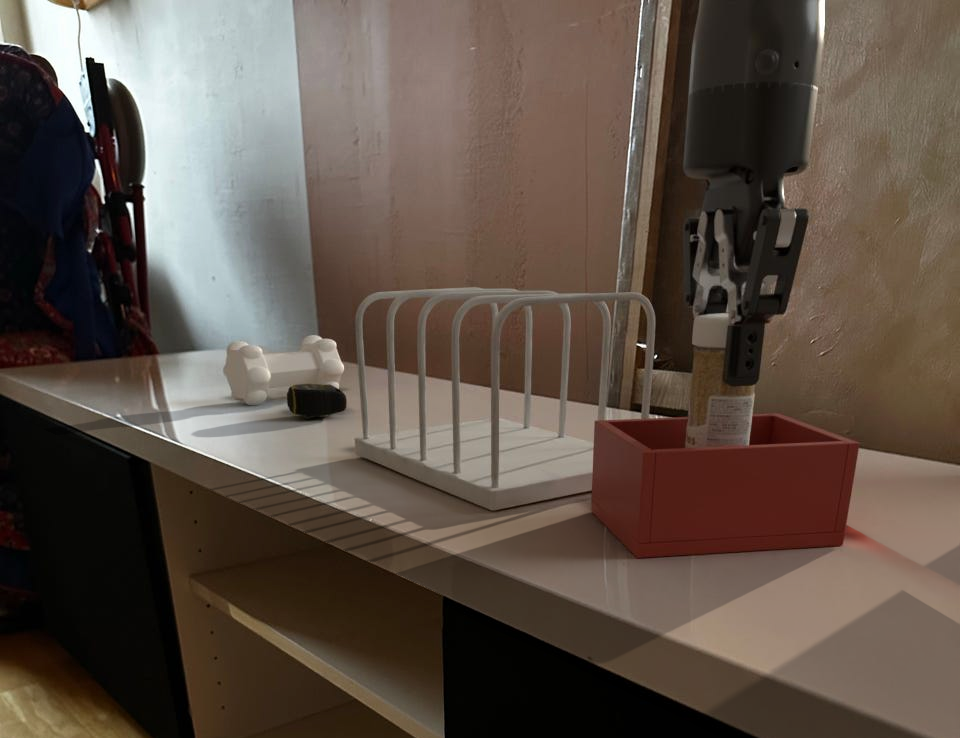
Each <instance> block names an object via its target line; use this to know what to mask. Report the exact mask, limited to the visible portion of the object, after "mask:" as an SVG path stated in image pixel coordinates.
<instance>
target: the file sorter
mask: <svg viewBox="0 0 960 738" xmlns="http://www.w3.org/2000/svg"><path fill="white" fill-rule="evenodd" d="M415 298H429V299H428V300H427V301H426V302H425V303H424V305H423V306H422V308H421V310H420V312H419V315H418V320H417V380H418V381H417V382H418V383H417V385H418V386H417V387H418V421H419V422H418V423H419V424H418V425H419V426H418V427H419V428H412V429H406V430H399V431H397V410H396V408H397V407H396V406H397V405H396V374H395V373H396V372H395V371H396V368H395V366H396V364H395V316H396V313H397V311H398V309H399V307H400V306H401V305H402V304H403V303H404V302H406V301H407V300H410V299H415ZM386 299H393V300H392V302H391V304H390V306H389V308H388V311H387V314H386V359H387V361H386V362H387V388H388V389H387V393H388V395H387V396H388V420H389V421H388V423H389V432H385V433H384V432H383V433H377V434H370V435H369V433H370V432H369V431H370V424H369V422H370V421H369V411H368V397H367V382H366V381H367V379H366V367H365V366H366V365H365V349H364V338H363V337H364V336H363V335H364V334H363V333H364V332H363V317H364V314H365V311H366V309H367V308H368V307H369V306H370V305H371V304H372V303H374V302H375V301H378V300H386ZM461 300H465V301H464V302H463V304H462V305H460V307H459V308H458V309H457V311H456V313H455V314H454V316H453V320H452V324H451V331H450V332H451V335H450V336H451V341H450V342H451V345H450V347H451V349H450V350H451V351H450V352H451V405H452V409H451V411H452V423H449V424H441V425H433V426H427V395H426V394H427V393H426V392H427V391H426V390H427V387H426V378H427V377H426V325H427V323H426V322H427V318H428V315H429V314H430V312H431V310H432V309H433V308H434V307H435V306H436V305H437V304H439V303H441V302H444V301H461ZM617 301H618V302H619V301H620V302H621V301H635V302H637V303H639V305H641V306H642V308H643V310H644V313H645V316H646V323H647V324H646V343H645V359H644V369H643V371H644V372H643V386H642V399H641V402H642V403H641V410H640V411H641V413H640V419H648V418H649V417H650V409H651V408H650V406H651V395H652V394H651V393H652V382H653V381H652V380H653V368H654V356H655V355H654V353H655V338H656V314H655V310H654V308H653V305H652V303H651V302H650V299H649V298H648V297H646V295H644V294H642V293H640V292H635V291H632V292H631V291H630V292H629V291H627V292H603V293H588V292H587V293H583V292H582V293H580V292H579V293H576V292H575V293H557V292H555V291H552V290H518V289H516V288H481V287H453V288H431V289H412V290H395V291H394V290H393V291H379V292H374V293H371V294H369V295H367V296H366V297H365V298H364V299H363V300H362V301H361V302H360V304H359V305H358V308H357V310H356V313H355V321H354V322H355V323H354V324H355V325H354V326H355V342H356V358H357V371H358V373H357V374H358V385H359V386H358V387H359V399H360V409H361V410H360V412H361V427H362V436H357V437H355V438H354V451H355V455H356V456H359V457H362V458H364V459H366V460H369V461H370V462H374V463H377V464H379V465H381V466H384V467H385V468H387V469H390V470H392V471H395V472H397V473H400V474H402V475H405V476H407V477H409V478H412V479H413V480H416V481H418V482H422V483H424V484H426V485H428V486H431V487H434V488H436V489H439V490H440V491H443V492H445V493H448V494H450V495H453V496H456V497H457V498H460V499H462V500H465V501H467V502H470V503H473V504H475V505H477V506H479V507H482V508H485V509H487V510H490V511H498V510H505V509H508V508H513V507H519V506H524V505H528V504H532V503H537V502H543V501H546V500H551V499H556V498H562V497H566V496H571V495H575V494H581V493H586V492H592V473H593V449H594V441H593V442H592V441H588V440H586V439H582V438H577V437H574V436H569V435H566V422H567V421H566V420H567V403H568V385H569V384H568V383H569V369H570V368H569V367H570V352H571V351H570V350H571V330H572V329H571V328H572V324H571V323H572V321H571V320H572V319H571V312H570V308H569V304H579V303H580V304H581V303H593V304H594V305H595V306H597V308H598V309H599V311H600V313H601V316H602V343H601V363H600V378H599V393H598V407H597V421H598V420H606V406H607V391H608V378H609V374H608V373H609V362H610V346H611V332H612V329H611V328H612V323H611V322H612V321H611V320H612V319H611V313H610V309H609V308H608V305H607V304H606V302H617ZM498 304H505V305H504V306H502V308H500V310H499V308H498ZM479 305H490V307H491V313H492V316H491V317H492V329H491V341H490V418H485V419H478V420H470V421H469V420H468V421H463V422H461V386H460V385H461V381H460V380H461V378H460V375H461V374H460V331H461V325H462V321H463V318H464V317H465V315H466V314H467V313H468V311H470V310H471V309H472V308H474V307H476V306H479ZM547 305H548V306H549V305H559V307H560V310H561V311H562V315H563V332H562V333H563V334H562V336H563V337H562V350H561V351H562V353H561V354H562V355H561V373H560V375H561V376H560V377H561V378H560V392H559V393H560V395H559V410H558V411H559V412H558V413H559V415H558V431H557V432H555V431H551V430H548V429H544V428H541V427H536V426H531V409H532V408H531V406H532V405H531V404H532V403H531V402H532V361H533V360H532V358H533V357H532V355H533V311H532V307H534V306H547ZM522 307H523V309H524V313H525V347H524V349H525V351H524V352H525V353H524V355H525V358H524V398H523V401H524V403H523V404H524V406H523V407H524V408H523V423H521V422H518V421H517V422H516V421H513V420H508V419H503V418H501V417H500V347H501V346H500V345H501V344H500V343H501V332H502V327H503V325H504V323H505V321H506V319H507V318H508V316H509V315H510V314H511V313H512V312H513V311H515V310H517V309H520V308H522Z"/></svg>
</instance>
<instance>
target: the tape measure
mask: <svg viewBox="0 0 960 738" xmlns="http://www.w3.org/2000/svg"><path fill="white" fill-rule="evenodd" d="M347 402H348V401H347V396H346V394H345V393H344V391H342V390H341V389H340V388H339V389H338V388H336V387H334V386H332V385H330V384H327V385H322V384H300V385H292V386H289V388H288V390H287V392H286V403H287V407H288V409H289V411H290V413H292V414H294V415H297V416H302V417H303V418H305V419H307V420H309V419H313V418H315V417H323V416H329V417H331V415H334V414H338V413H342V412H344V411H346V409H347Z"/></svg>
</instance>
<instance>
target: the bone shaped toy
mask: <svg viewBox="0 0 960 738" xmlns="http://www.w3.org/2000/svg"><path fill="white" fill-rule="evenodd" d="M225 352H226V356H225V357H226V359H225V365H224V366H223V369H222V370H223V371H222V372H223V375H224V376H225V378H226V381H227V383H228V386H229V389H230V391H231V394H230V395H231V398H233V399H234V400H236V401H241V402H244V403H245V404H247V405H248V406H259V405H262V404H263V403H265V401H266V400H267V396H268V389H274V388H284V387H291V386H293V385H300V384H322V385H327V384H330V385H332V386H334V387H336V388H338V389H339V390H340V380H341V376H342V375H343V373H344V371H345V365H344V363H343V362H342V360H341V357H340V355H339V351H338V349H337V342H336V341H335V340H333V339H331V338H322V337H321V336H320V335H317V334H310V335H308V336H306V337H304V339H302V341H301V348H300V350H298V351H287V352H286V351H285V352H275V353H264V354H263V349H262V348H261V347H260V346H258V345H255V344H249V343H248V342H245V341H241V340H236V341H232V342H230V344H228V345H227V347H226V351H225Z"/></svg>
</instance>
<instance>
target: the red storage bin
mask: <svg viewBox="0 0 960 738" xmlns="http://www.w3.org/2000/svg"><path fill="white" fill-rule="evenodd" d="M687 419H688V416H675V417H674V416H673V417H653V418H652V417H651V418H648V419H641V418H630V419H629V418H627V419H626V418H625V419H605V420H598V419H597V420H594V425H593V426H594V427H593V428H594V429H593V443H594V449H593V473H592V490H591V501H590V502H591V503H590V512H591V513H592V514H593V515H594V516H595V517H596V518H597V519H598V520H599V521H600V522H601V523H602V524H603V525H604V526H605V527H606V528H607V529H608V530H609V531H610V532H611V533H612V534H613V535H614V536H615V537H616V538H617V539H618V540H619V541H620V542H621V543H622V545H624V547H626V548H627V549H628V551H629V552H630V553H631V554H632V555H633V556H635V558H637V559H645V558H660V557H677V556H692V555H693V556H694V555H709V554H724V553H740V552H758V551H773V550H775V551H777V550H791V549H807V548H821V547H822V548H823V547H837V546H838V547H839V546H843V545H844V539H845V534H846V533H845V532H846V528H847V522H848V517H849V510H850V504H851V499H852V492H853V487H854V486H853V485H854V480H855V474H856V468H857V462H858V455H859V449H860V445H861V444H860V442H858V441H855V440H853V439H850V438H847V437H844V436H843V435H839V434H836V433H834V432H831V431H828V430H825V429H823V428H819V427H817V426H814V425H812V424H809V423H806V422H803V421H801V420H797V419H795V418H792V417H789V416H787V415H784V414H781V413H777V412H776V413H775V412H774V413H753V414H752V422H751V431H750V439H749V445H744V446H722V447H699V448H685V442H686V430H687Z"/></svg>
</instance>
